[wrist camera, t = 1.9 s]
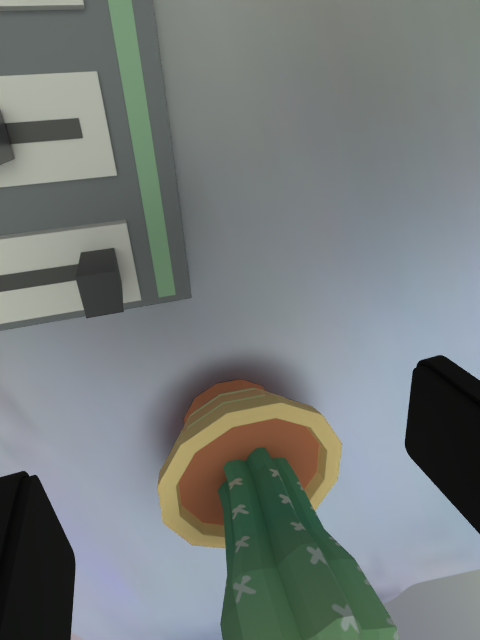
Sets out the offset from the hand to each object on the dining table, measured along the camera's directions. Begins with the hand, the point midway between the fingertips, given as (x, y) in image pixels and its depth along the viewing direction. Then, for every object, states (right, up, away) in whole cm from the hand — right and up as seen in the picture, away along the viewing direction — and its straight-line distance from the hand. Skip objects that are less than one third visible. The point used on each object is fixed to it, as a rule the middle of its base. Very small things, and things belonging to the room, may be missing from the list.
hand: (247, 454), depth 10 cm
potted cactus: (-1, -6, +29) cm, 30 cm away
